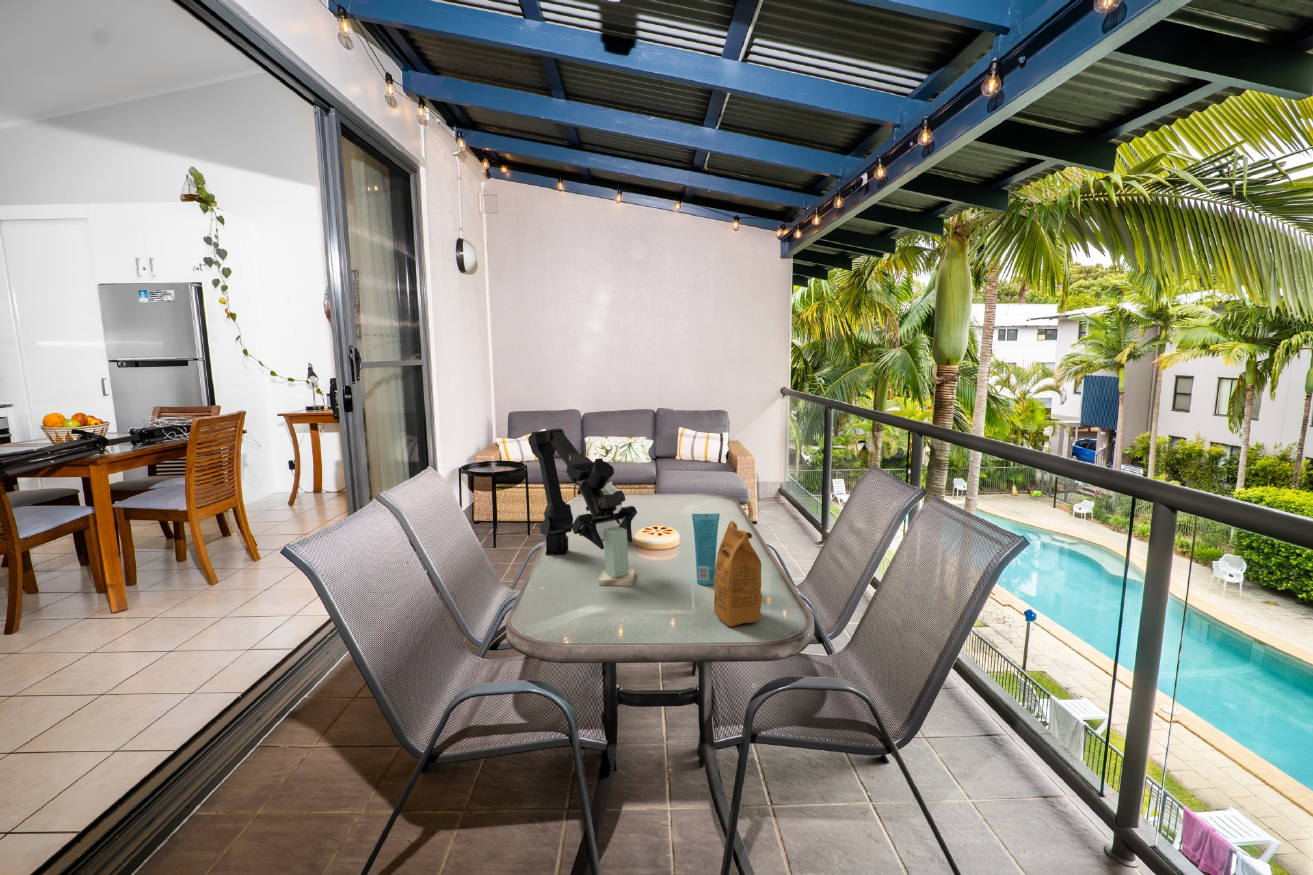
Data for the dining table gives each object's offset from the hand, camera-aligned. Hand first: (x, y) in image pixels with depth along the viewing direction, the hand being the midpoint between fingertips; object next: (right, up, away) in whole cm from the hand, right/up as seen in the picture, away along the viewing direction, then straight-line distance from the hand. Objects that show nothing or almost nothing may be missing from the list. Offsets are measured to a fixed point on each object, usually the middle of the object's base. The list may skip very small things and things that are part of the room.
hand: (617, 545), depth 164 cm
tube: (+24, -10, +1) cm, 26 cm away
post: (0, -8, +2) cm, 8 cm away
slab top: (0, -10, +2) cm, 10 cm away
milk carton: (-6, -5, +44) cm, 45 cm away
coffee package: (+29, -13, -21) cm, 39 cm away
